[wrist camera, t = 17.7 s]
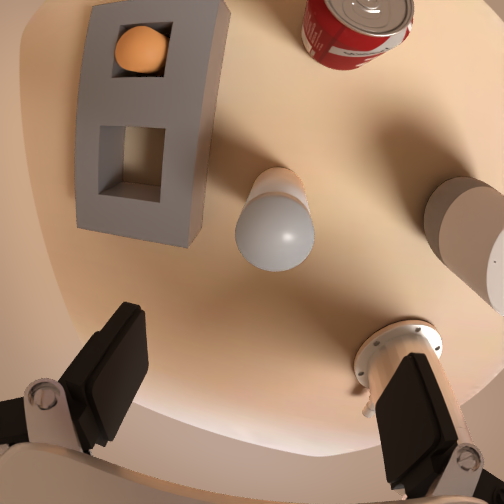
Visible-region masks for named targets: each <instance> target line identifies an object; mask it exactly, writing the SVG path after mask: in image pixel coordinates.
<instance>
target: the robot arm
mask: <svg viewBox="0 0 504 504" xmlns="http://www.w3.org/2000/svg"><path fill="white" fill-rule="evenodd" d="M441 352H442V339H441V337H440V335H439V333H438V331H437V330H436V328H435V327H434V326H432V325H431V324H429V323H427V322H425V321H420V320H406V321H400V322H397V323H394V324H391V325H388V326H386V327H384V328H382V329H381V330H379V331H377V332H376V333H374V334H373V335H372V336H371V337H370V338H368V339H367V340H366V341H365V342H364V344H363V345H362V346H361V347H360V349H359V351H358V352H357V354H356V357H355V360H354V370H355V375H356V378H357V380H358V381H359V383H360V384H362V385H363V386H364V387H366V388H368V389H370V394H371V395H370V396H369V400H370V401H369V402H368V403H367V404H366V406H365V407H364V409H363V411H362V413H363V415H364V416H365V417H367V418H371V417H373V416H374V414H375V413H376V418H377V423H378V429H379V434H380V440H381V445H382V452H383V458H384V464H385V471H386V478H387V482H388V483H390V485H391V490H395V491H396V492H397V493H398V494H400V495H401V496H403V498H402V499H401V500H399V501H387V502H375V503H358V504H504V482H503V481H501V480H500V479H498V478H497V477H495V476H494V475H492V474H491V473H489V472H488V471H486V470H485V469H483V465H484V459H483V455H482V453H481V451H480V450H479V449H478V448H477V447H476V446H475V445H474V444H473V441H472V438H471V435H470V432H469V430H468V427H467V425H466V422H465V419H464V417H463V414H462V412H461V409H460V407H459V404H458V402H457V400H456V397H455V395H454V392H453V390H452V388H451V385H450V383H449V381H448V379H447V376H446V374H445V372H444V370H443V368H442V365H441V363H440V361H439V358H440V355H441ZM148 366H149V362H148V351H147V338H146V323H145V312H144V311H143V310H141V307H140V306H139V305H136V304H132V303H128V302H123V303H122V304H121V306H120V307H119V308H118V309H117V311H116V312H115V313H114V314H113V316H112V317H111V318H110V319H109V321H108V322H107V323H106V324H105V326H104V327H103V328H102V330H101V331H97V332H95V333H94V334H93V335H92V337H91V338H90V339H89V340H88V342H87V343H86V344H85V346H84V347H83V349H82V350H81V351H80V352H79V354H78V355H77V356H76V357H75V359H74V360H73V361H72V363H71V364H70V366H69V367H68V368H67V369H66V371H65V372H64V374H63V375H62V376H61V378H60V379H59V380H58V382H57V381H55V380H53V379H49V378H44V379H43V378H41V379H38V380H35V381H34V382H32V383H30V384H29V386H28V387H27V388H26V390H25V392H24V397H21V398H16V399H11V400H6V401H1V402H0V504H306V503H290V502H276V501H267V500H258V499H251V498H244V497H238V496H231V495H226V494H220V493H215V492H210V491H205V490H200V489H196V488H191V487H187V486H184V485H180V484H176V483H172V482H168V481H165V480H161V479H158V478H155V477H151V476H148V475H145V474H142V473H138V472H135V471H132V470H129V469H126V468H124V467H121V466H118V465H115V464H112V463H109V462H107V461H104V460H102V459H99V458H96V457H93V455H92V452H91V449H93V447H94V445H95V443H96V444H98V445H101V446H103V447H105V446H106V444H107V442H108V441H113V439H114V438H115V436H116V434H117V431H118V429H119V427H120V425H121V423H122V421H123V419H124V417H125V415H126V413H127V411H128V409H129V407H130V405H131V403H132V401H133V399H134V397H135V395H136V393H137V391H138V389H139V387H140V385H141V383H142V381H143V379H144V377H145V375H146V373H147V371H148Z"/></svg>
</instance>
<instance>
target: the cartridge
mask: <svg viewBox="0 0 504 504" xmlns="http://www.w3.org/2000/svg"><path fill="white" fill-rule="evenodd" d="M314 235H315V234H314V227H313V223H312V218H311V214H310V210H309V206H308V202H307V198H306V193H305V189H304V186H303V183H302V181H301V179H300V178H299V177H298V175H297V174H295V173H294V172H293V171H291V170H289V169H286V168H282V167H275V168H270V169H267V170H265V171H264V172H262V173H261V174H260V175H259V176H258V177H257V179H256V180H255V182H254V184H253V187H252V189H251V191H250V194H249V196H248V198H247V201H246V203H245V205H244V208H243V210H242V212H241V215H240V217H239V219H238V222H237V225H236V230H235V238H236V243H237V246H238V249H239V251H240V253H241V254H242V255H243V257H244V258H245V259H246V260H247V261H248V262H249V263H251V264H252V265H254V266H256V267H257V268H260V269H263V270H266V271H285V270H288V269H291V268H293V267H295V266H297V265H299V264H300V263H301V262H302V261H304V260H305V258H306V257H307V256H308V255H309V253H310V251H311V249H312V247H313V244H314Z"/></svg>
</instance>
